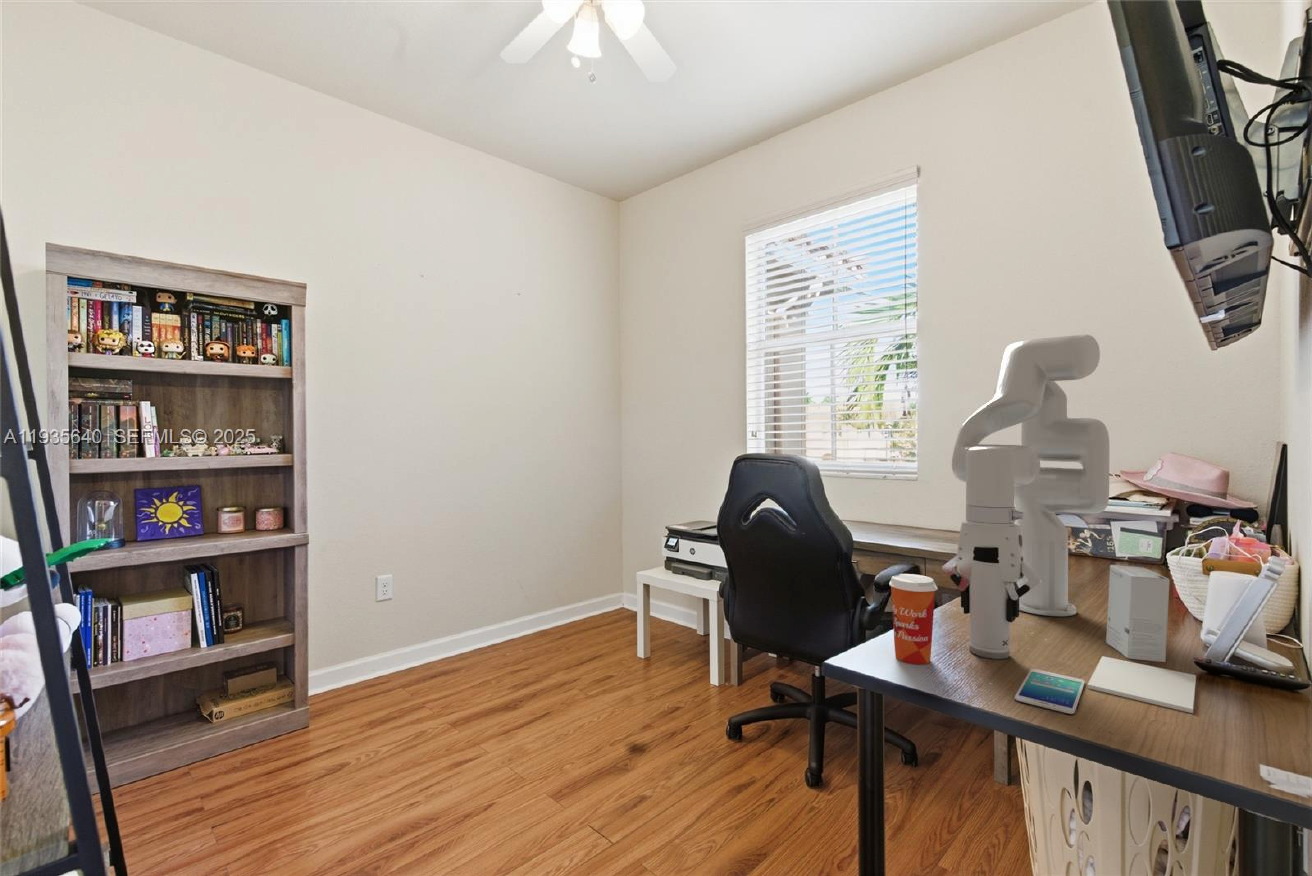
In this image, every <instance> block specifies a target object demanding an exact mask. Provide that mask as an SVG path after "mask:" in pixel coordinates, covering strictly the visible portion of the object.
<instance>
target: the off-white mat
mask: <svg viewBox="0 0 1312 876" xmlns="http://www.w3.org/2000/svg"><path fill="white" fill-rule="evenodd" d="M1196 681H1197V675H1195V674H1191V673H1186V672H1181V671H1178V670H1177V671H1176V670H1171V669H1168V668H1162V667H1156V666H1151V665H1148V664H1147V665H1146V664H1142V663H1137V662H1133V661H1128V660H1124V659H1123V660H1122V659H1119V658H1113V657H1109V656H1103V655H1102V656H1101V658H1100V660H1099V662H1098V663H1097V665H1096V667H1095V669H1094V671H1093V673H1092V675H1091V676H1090V679H1089V681H1088V683H1087V689H1090V690H1094V691H1097V692H1102V693H1106V694H1111V695H1115V696H1119V697H1122V698H1127V699H1131V700H1135V701H1140V702H1144V703H1148V704H1152V705H1156V706H1161V707H1164V708H1167V709H1168V708H1170V709H1173V710H1176V711H1181V712H1186V713H1188V714H1194V707H1195V706H1194V704H1195V695H1196V694H1195V693H1196Z"/></svg>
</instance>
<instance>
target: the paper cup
mask: <svg viewBox="0 0 1312 876" xmlns="http://www.w3.org/2000/svg"><path fill="white" fill-rule="evenodd" d="M890 578H891V579H890V581H889V583H888V584H889V586H890V591H891V592H890V593H891V606H892V607H891V609H892V612H891V613H892V625H893V628H892V629H893V642H894V652H895V653H894V654H895V659H897V660H898V661H900V662H902V663H906V664H908V665H909V664H911V665H919V666H921V665H926V664H929V663H930V661H931V658H932V657H931V655H932V643H933V629H934V612H935V598H936V597H935V595H936V591H938V586H937V585H936V583H935V581H934V579H933V578H932V577H931V576H925V575H923V574H921V575H920V574H914V573H911V574H910V573H899V574H896V575H892V576H891V577H890Z"/></svg>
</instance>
